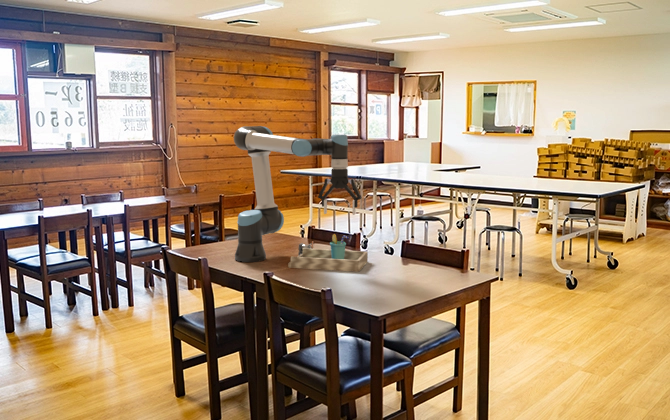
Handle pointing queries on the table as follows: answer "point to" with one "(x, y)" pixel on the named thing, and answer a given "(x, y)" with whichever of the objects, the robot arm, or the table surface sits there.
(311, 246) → the winch
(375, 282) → the table surface
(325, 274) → the table surface
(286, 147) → the robot arm
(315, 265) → the tray
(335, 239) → the cup
